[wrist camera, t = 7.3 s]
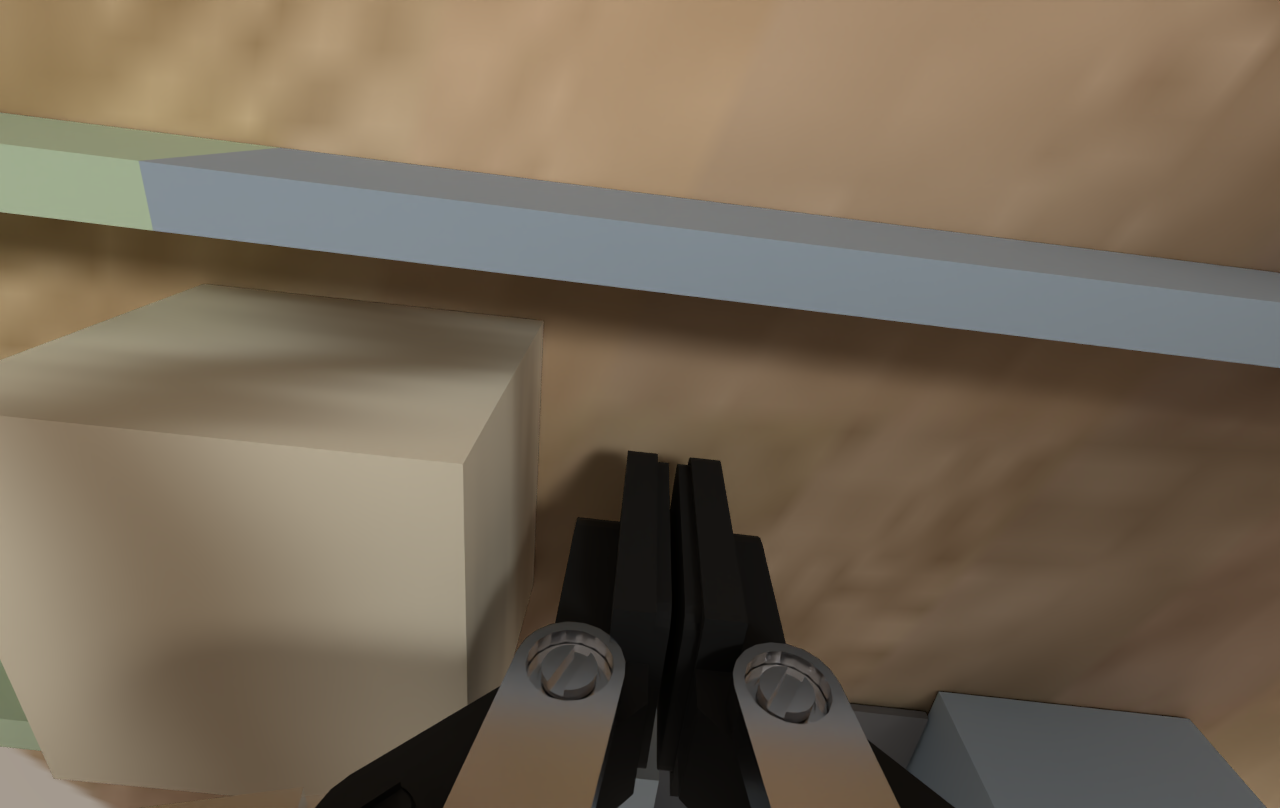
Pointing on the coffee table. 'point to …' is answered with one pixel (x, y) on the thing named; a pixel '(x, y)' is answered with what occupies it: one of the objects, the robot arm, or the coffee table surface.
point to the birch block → (263, 533)
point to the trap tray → (733, 271)
